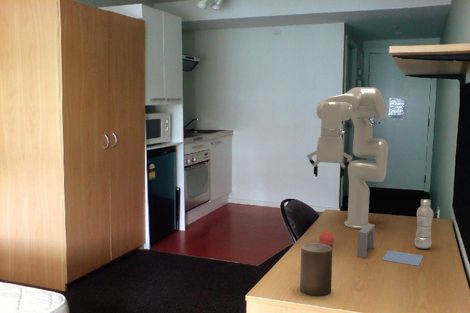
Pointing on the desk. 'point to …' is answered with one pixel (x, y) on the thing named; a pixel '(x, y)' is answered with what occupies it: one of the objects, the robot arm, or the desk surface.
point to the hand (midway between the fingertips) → (328, 177)
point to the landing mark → (403, 258)
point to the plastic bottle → (424, 225)
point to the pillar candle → (316, 269)
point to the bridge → (365, 240)
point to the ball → (326, 238)
